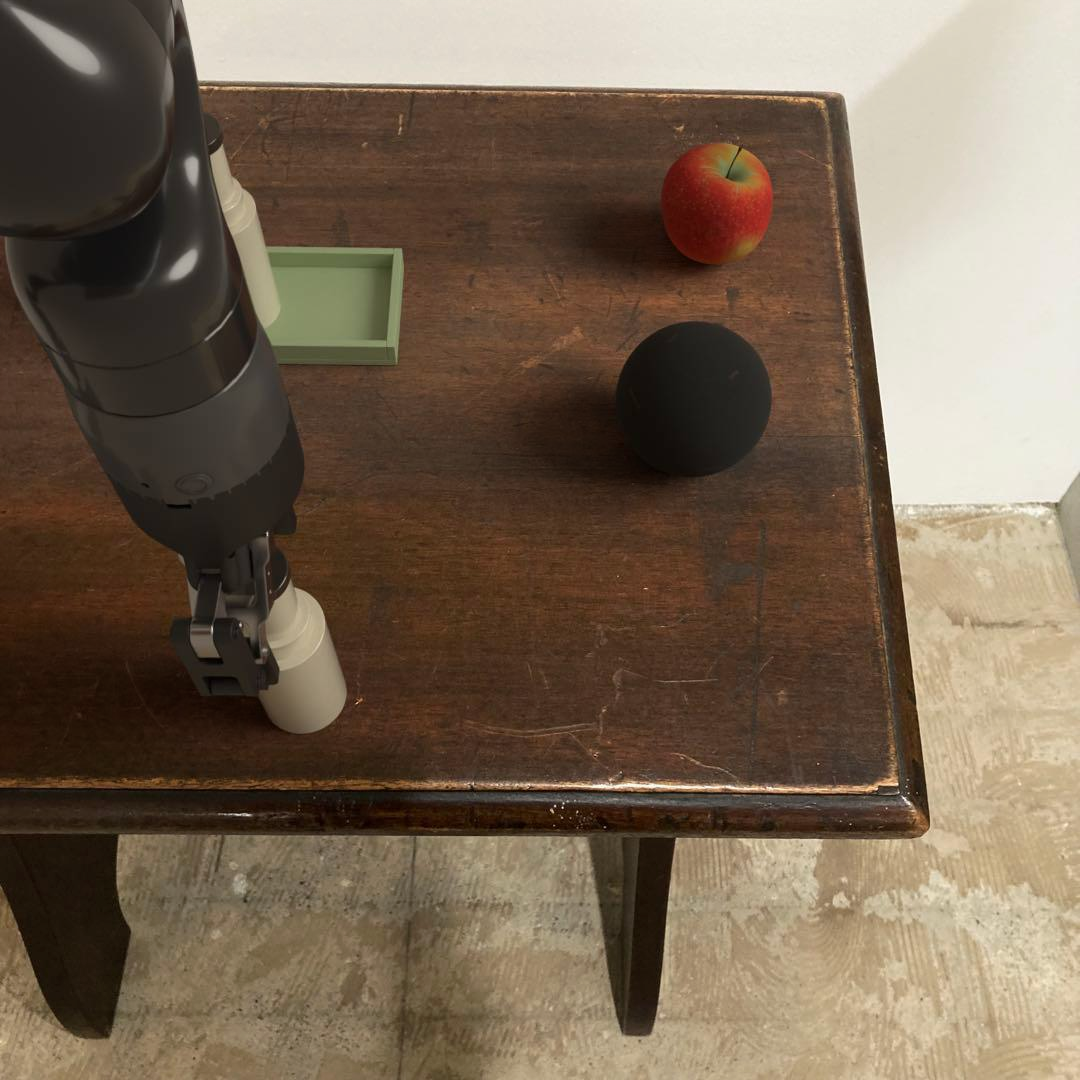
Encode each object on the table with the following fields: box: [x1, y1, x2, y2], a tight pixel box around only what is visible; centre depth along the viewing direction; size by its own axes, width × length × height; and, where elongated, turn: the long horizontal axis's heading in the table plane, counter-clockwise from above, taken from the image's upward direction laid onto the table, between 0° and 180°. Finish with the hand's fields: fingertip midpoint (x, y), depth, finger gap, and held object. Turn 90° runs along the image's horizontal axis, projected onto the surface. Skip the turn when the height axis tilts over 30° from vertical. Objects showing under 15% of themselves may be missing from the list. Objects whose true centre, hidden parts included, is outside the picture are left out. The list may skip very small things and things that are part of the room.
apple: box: [660, 142, 774, 266], centre depth 83 cm, size 8×8×10 cm
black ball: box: [615, 320, 773, 478], centre depth 74 cm, size 10×10×10 cm
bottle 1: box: [203, 111, 281, 329], centre depth 76 cm, size 5×5×16 cm
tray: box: [264, 245, 405, 366], centre depth 82 cm, size 22×9×2 cm, turn 90°
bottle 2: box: [226, 544, 348, 735], centre depth 62 cm, size 5×5×16 cm
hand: (267, 601), depth 58 cm, fingers open, 8 cm apart
